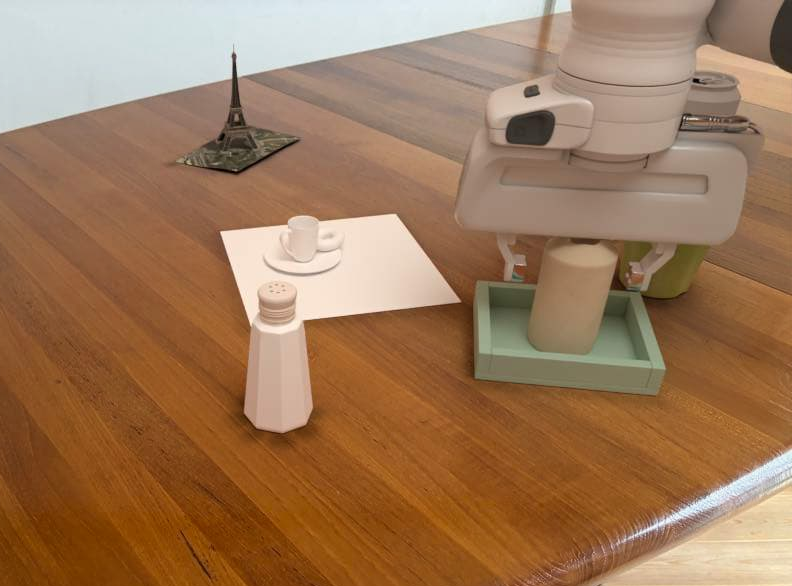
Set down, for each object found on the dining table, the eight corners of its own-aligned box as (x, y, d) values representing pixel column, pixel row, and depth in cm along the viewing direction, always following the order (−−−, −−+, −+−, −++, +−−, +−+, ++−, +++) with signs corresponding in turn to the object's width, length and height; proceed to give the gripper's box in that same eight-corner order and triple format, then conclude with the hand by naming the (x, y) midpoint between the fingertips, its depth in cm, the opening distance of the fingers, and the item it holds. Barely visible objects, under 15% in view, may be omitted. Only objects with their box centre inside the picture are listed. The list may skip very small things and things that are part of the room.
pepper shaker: (317, 431, 62) (321, 305, 55) (246, 437, 62) (241, 311, 55) (308, 389, 66) (310, 267, 60) (241, 394, 66) (236, 272, 59)
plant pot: (719, 312, 74) (752, 223, 69) (609, 305, 75) (633, 217, 70) (693, 264, 81) (721, 180, 76) (593, 258, 83) (614, 175, 77)
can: (638, 167, 101) (666, 65, 94) (704, 170, 100) (737, 67, 92) (649, 191, 95) (679, 85, 88) (718, 195, 94) (755, 87, 87)
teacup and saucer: (338, 237, 88) (339, 201, 85) (358, 271, 82) (360, 234, 79) (257, 245, 87) (256, 209, 84) (272, 281, 81) (271, 243, 78)
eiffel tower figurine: (238, 177, 102) (233, 65, 94) (174, 161, 107) (165, 53, 99) (301, 140, 112) (302, 36, 104) (240, 127, 116) (237, 27, 108)
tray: (632, 317, 74) (640, 291, 72) (657, 396, 64) (666, 369, 63) (473, 304, 76) (477, 280, 75) (474, 379, 67) (478, 352, 65)
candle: (517, 345, 70) (538, 237, 63) (539, 317, 73) (562, 211, 67) (582, 365, 67) (611, 255, 61) (602, 334, 70) (632, 227, 64)
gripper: (761, 101, 59) (701, 273, 67) (468, 92, 62) (447, 256, 71) (788, 132, 54) (720, 313, 62) (469, 119, 57) (445, 292, 66)
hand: (572, 283), depth 67 cm, fingers open, 8 cm apart
